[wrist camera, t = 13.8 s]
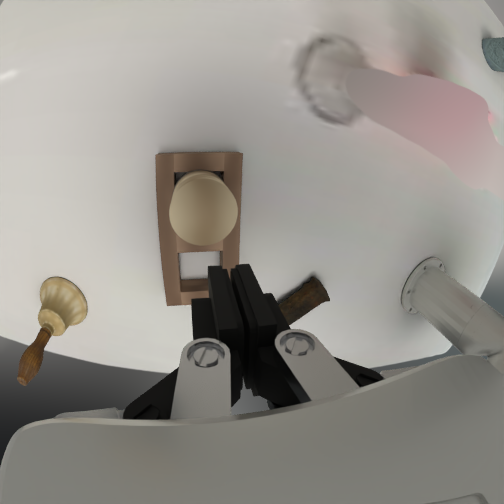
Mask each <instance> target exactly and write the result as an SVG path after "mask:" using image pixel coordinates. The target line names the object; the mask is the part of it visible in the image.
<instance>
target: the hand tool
mask: <svg viewBox="0 0 504 504" xmlns="http://www.w3.org/2000/svg"><path fill="white" fill-rule="evenodd" d="M327 301H330V298H329V296H328V293H327V291H326V289H325V288H324V287H323V285H322V284H321V282H320V281H319V280H317V279H316V278H314V277H312V279H311V281H310V282H309V283H304V284H303V287H302V288H301V289H300V290H299V291H297V292H296V293H294V294H293V295H291V296H290V297H289V298H288V299H286V300H285V301H284V302H282V303H281V304H279V307H280V309H281V311H282V313H283V315H284V317H285V319H286V321H287V323H288V325H291V324H292V323H293V322H295V321H296V320H298V319H300V318H301V317H303V316H304V315H305V314H307V313H308V312H310V311H311V310H313V309H314V308H315V307H317V306H318V305H320V304H321V303H323V302H327Z"/></svg>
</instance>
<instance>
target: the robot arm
mask: <svg viewBox="0 0 504 504" xmlns="http://www.w3.org/2000/svg"><path fill="white" fill-rule="evenodd" d="M208 289H209V298H193V299H191V306H192V326H193V341H192V342H190V343H188V344H187V345H186V346H185V347H184V348H183V351H182V354H181V359H180V364H179V367H178V368H177V369H175V370H174V371H173V372H172V373H170V374H169V375H168V376H166V377H165V378H164V379H162V380H161V381H160V382H158V383H157V384H156V385H155V386H153V387H152V388H151V389H149V390H148V391H147V392H145V393H144V394H142V395H141V396H140V397H138V398H137V399H136V400H134V401H133V402H132V403H130V404H129V405H128V406H127V407H126V409H125V410H117V408H109V409H101V410H93V411H82V412H70V413H63V414H59V415H57V416H56V417H55V418H53V419H48V420H42V421H37V422H33V423H30V424H28V425H26V426H23V427H22V428H20V429H19V430H18V431H17V432H16V433H15V434H14V435H13V437H12V438H11V440H10V442H9V444H8V446H7V448H6V451H5V454H4V457H3V460H2V463H1V468H0V504H504V317H503V316H502V315H501V314H499V313H498V312H497V311H495V310H494V309H493V308H492V307H490V306H489V305H488V304H487V303H485V302H484V301H483V300H481V299H480V298H479V297H478V296H476V295H475V294H474V293H472V292H471V291H470V290H468V289H467V288H466V287H464V286H463V285H461V284H460V283H459V282H457V281H456V280H455V279H453V278H452V277H450V276H449V275H447V274H446V273H445V267H444V264H443V262H442V261H440V260H439V259H437V258H430V259H427V260H425V261H424V262H422V263H421V264H420V265H419V266H418V267H417V268H416V269H415V270H414V271H413V273H412V274H411V275H410V277H409V279H408V280H407V283H406V285H405V287H404V290H403V294H402V306H403V308H404V309H405V310H406V311H407V312H408V313H411V314H415V313H418V312H419V313H420V314H421V315H422V316H423V317H425V318H426V319H427V320H428V321H429V322H430V323H431V324H432V325H433V326H434V327H435V328H436V329H437V330H438V331H439V332H441V333H442V334H443V335H444V336H445V337H446V338H447V339H448V340H449V341H450V342H451V343H452V344H453V345H454V346H455V347H456V348H457V349H458V350H459V351H460V352H461V353H463V354H464V355H454V356H449V357H445V358H441V359H438V360H435V361H432V362H429V363H427V364H424V365H421V366H415V367H408V368H401V369H394V370H386V371H381V373H380V374H379V373H377V372H376V371H373V370H371V369H368V368H365V367H362V366H359V365H356V364H353V363H350V362H347V361H345V360H342V359H339V358H336V357H333V356H332V355H331V354H330V353H329V351H328V350H327V349H326V348H325V347H324V346H323V344H322V343H321V342H320V341H319V340H318V339H317V337H315V336H314V335H313V334H311V333H309V332H307V331H304V330H301V329H290V327H289V325H288V323H287V321H286V319H285V317H284V315H283V313H282V311H281V309H280V307H279V305H278V304H277V302H276V300H275V298H274V296H273V294H272V293H266V294H263V292H262V290H261V288H260V286H259V284H258V281H257V279H256V277H255V275H254V273H253V271H252V269H251V266H250V264H240V265H235V268H231V270H230V278H229V274H228V271H227V269H222V266H208ZM481 356H487V357H488V359H487V360H486V359H484V358H483V357H481ZM243 379H244V383H245V387H246V389H250V388H251V390H252V393H253V396H261V397H263V398H265V399H267V405H268V408H269V410H266V411H260V412H253V413H246V414H239V415H231V407H232V406H233V405H234V404H235V403H236V402H237V401H238V400H239V399H240V391H241V390H242V385H243Z"/></svg>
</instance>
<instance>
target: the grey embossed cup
mask: <svg viewBox="0 0 504 504" xmlns="http://www.w3.org/2000/svg"><path fill="white" fill-rule="evenodd" d="M482 49H483V53H484V56H485V58H486V61H487V63H488V64H489V66H490V67H491V69H492V70H494V71H501V72H504V37H502V38H486V39H483V40H482Z"/></svg>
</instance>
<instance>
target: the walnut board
mask: <svg viewBox="0 0 504 504" xmlns="http://www.w3.org/2000/svg"><path fill="white" fill-rule="evenodd" d="M242 160H243V153H240V152H179V153H159V154H157V155H156V192H157V212H158V227H159V240H160V251H161V261H162V270H163V279H164V287H165V295H166V302H167V306H175V305H191V299H193V298H209V289H208V279H191V280H181V278H180V266H179V253H185V252H205V251H220V266H222V269H227V271H228V274H229V278H230V270H231V268H235V265H239V244H240V213H241V185H242ZM199 169H202V170H208V171H221V179H222V180H223V182H224V183H225V185H226V186H227V187H228V189H229V190H230V191H231V192H232V194H233V195H234V197H235V200H236V203H237V207H238V216H237V221H236V223H235V226H234V228H233V229H232V231H231V232H230V233H229V234H228V235H227V236H226V237H225V238H224V239H222V240H221V241H219V242H217V243H214V244H211V245H205V246H199V245H194V244H191V243H188V242H186V241H184V240H183V239H182V238H180V237H179V236H178V235H177V234H176V232H175V231H174V229H173V228H172V225H171V222H170V217H169V209H170V204H171V200H172V196H173V190H174V187H175V185H176V182H175V172H190V171H193V170H199Z"/></svg>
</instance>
